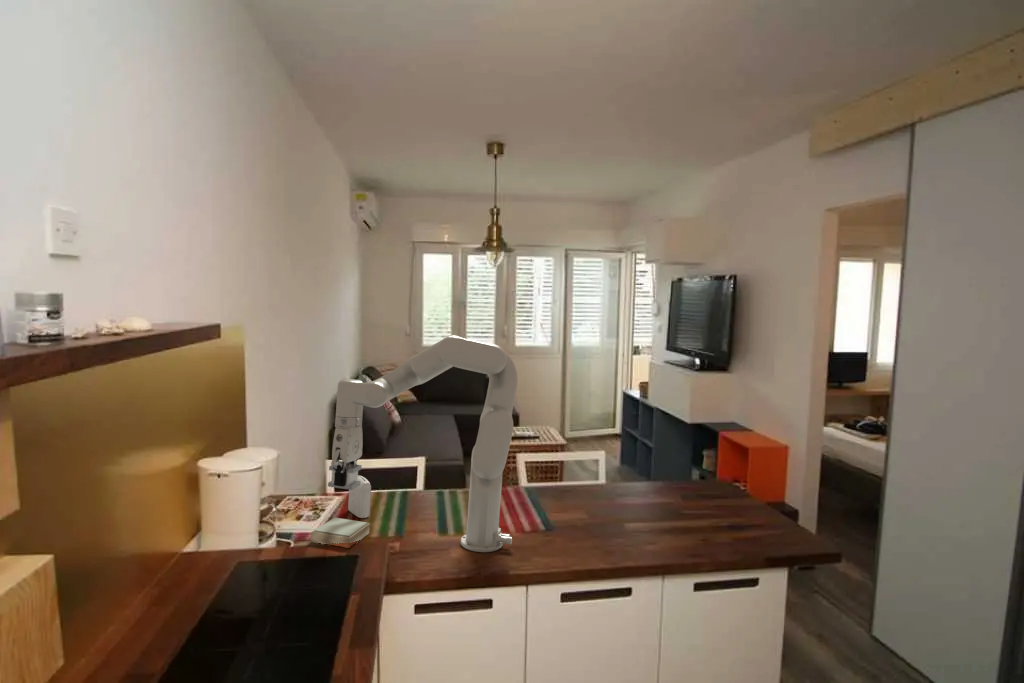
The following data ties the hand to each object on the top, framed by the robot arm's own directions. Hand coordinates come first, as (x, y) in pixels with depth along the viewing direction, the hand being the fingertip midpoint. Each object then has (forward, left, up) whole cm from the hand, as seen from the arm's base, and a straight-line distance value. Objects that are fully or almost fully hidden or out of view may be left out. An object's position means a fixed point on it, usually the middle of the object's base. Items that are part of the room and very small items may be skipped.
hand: (344, 482), depth 155 cm
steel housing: (0, 0, -1) cm, 1 cm away
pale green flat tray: (0, 0, -16) cm, 16 cm away
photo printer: (+5, -20, -17) cm, 26 cm away
